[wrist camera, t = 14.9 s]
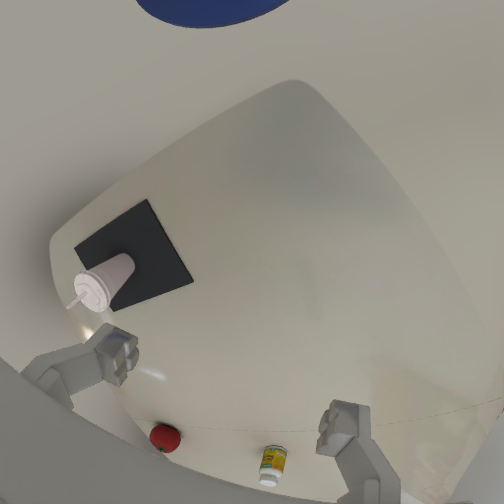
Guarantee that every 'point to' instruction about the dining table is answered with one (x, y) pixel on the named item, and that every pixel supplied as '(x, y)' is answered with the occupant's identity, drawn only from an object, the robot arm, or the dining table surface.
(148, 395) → the dining table surface
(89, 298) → the smoothie
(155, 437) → the tomato
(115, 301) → the mat
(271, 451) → the supplement bottle
